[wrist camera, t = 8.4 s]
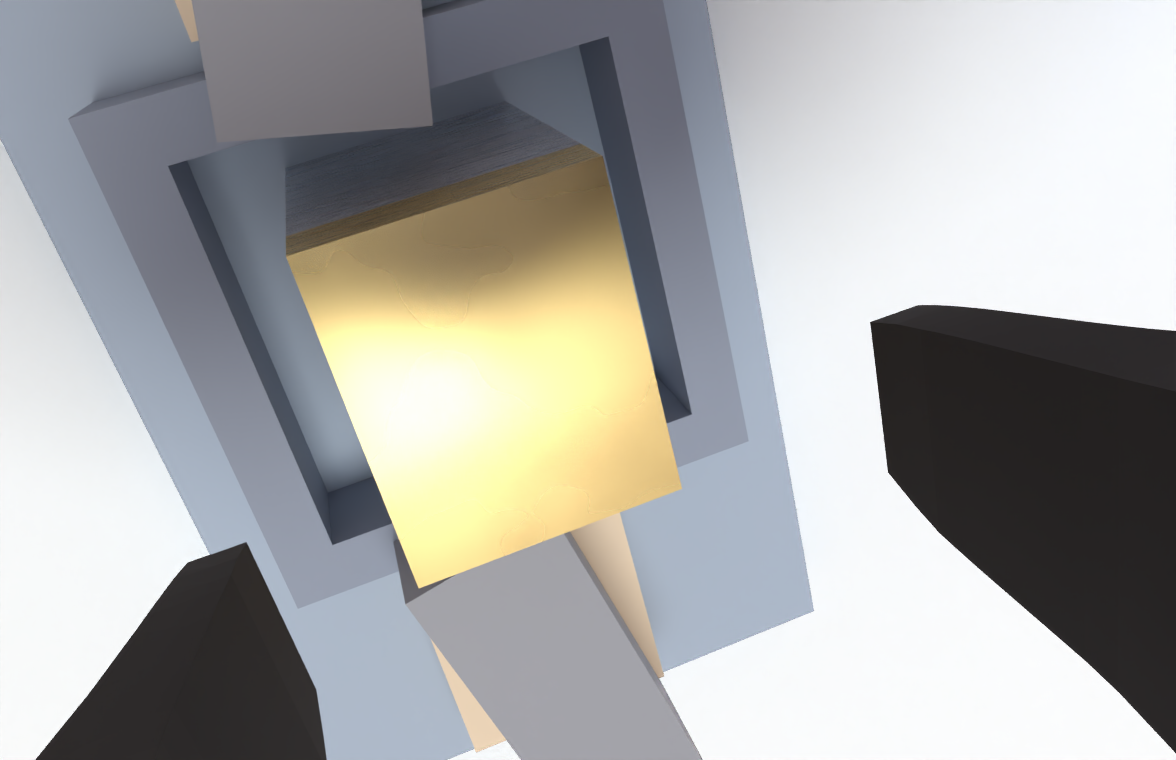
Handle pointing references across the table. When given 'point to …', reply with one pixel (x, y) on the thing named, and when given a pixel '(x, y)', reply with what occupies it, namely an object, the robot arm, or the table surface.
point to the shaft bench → (307, 385)
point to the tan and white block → (481, 333)
